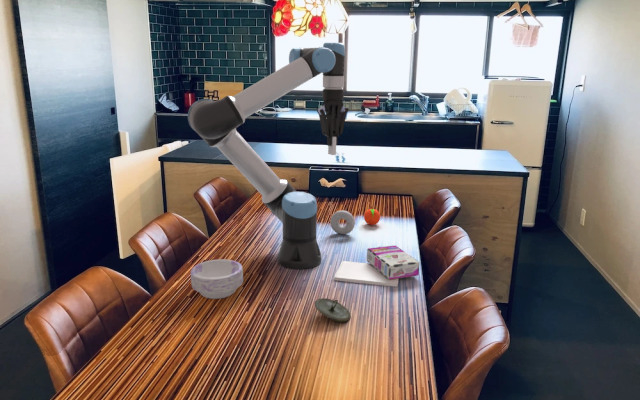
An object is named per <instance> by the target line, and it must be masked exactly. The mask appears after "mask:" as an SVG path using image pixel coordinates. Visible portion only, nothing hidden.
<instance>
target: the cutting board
mask: <svg viewBox="0 0 640 400" xmlns="http://www.w3.org/2000/svg"><path fill="white" fill-rule="evenodd" d="M333 278H334V279H333V280H334V281H340V282H349V283H356V284H357V283H359V284H367V285H374V286H375V285H377V286H384V287H385V286H386V287H394V286H395V288H397V287H398V285H399V280H400V278H396V279H390V280H389V279H388V278H386V277H385V276H384V275H383V274H382V273H380V272H379V271H378V270H377V269H376V268H375V267H373V266H372V265H371V264H370V263H369V262H367V263H366V262H357V261H349V260H348V261H345V260H342V261H341V263H340V265H339V267H338V268H337V271H336V273H335V275H334V277H333Z"/></svg>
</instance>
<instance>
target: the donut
mask: <svg viewBox="0 0 640 400" xmlns="http://www.w3.org/2000/svg"><path fill="white" fill-rule="evenodd" d="M341 219H342V220H344V221H345V222H346V224H345V225H341V224H340V223H339V221H340V220H341ZM329 222H330V223H329V224H330V227H331V228H332V230H333V232H335V233H337V234H339V235H348V234H351V232H352V231H353V230H354V228H355V225H356V222H355V218H354V216H353V214H352V213H350V211H347V210H338V211H335V212H334V213H333V214H332V215H331V217H330V221H329Z"/></svg>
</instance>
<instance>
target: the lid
mask: <svg viewBox="0 0 640 400" xmlns="http://www.w3.org/2000/svg"><path fill="white" fill-rule="evenodd" d="M338 301H339V299H330V298H318V299H316V300H315V301H314V307H315V308H316V310H317V311H318V312H319V313H320V314H322V316H324V317H326V318H328V319H329V320H332V321H335V322H339V323H345V322H348V321H349V320H350V319H351V312H350V311H349V310H348V309H347V307H345V306H344V305H343V304H341V303H339V302H338Z"/></svg>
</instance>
